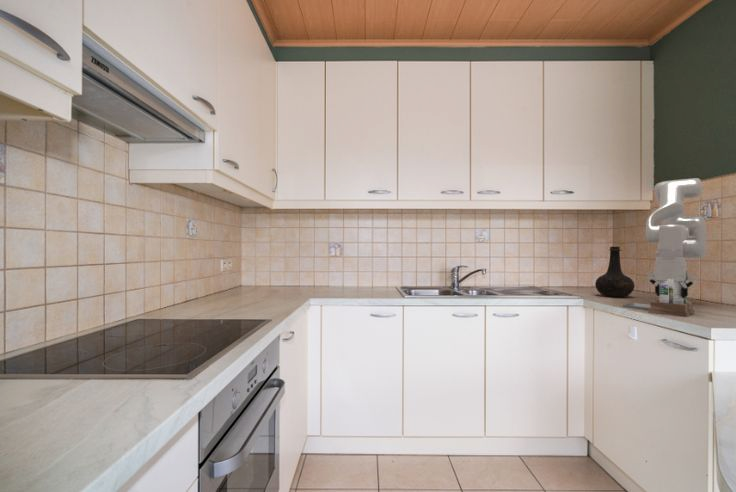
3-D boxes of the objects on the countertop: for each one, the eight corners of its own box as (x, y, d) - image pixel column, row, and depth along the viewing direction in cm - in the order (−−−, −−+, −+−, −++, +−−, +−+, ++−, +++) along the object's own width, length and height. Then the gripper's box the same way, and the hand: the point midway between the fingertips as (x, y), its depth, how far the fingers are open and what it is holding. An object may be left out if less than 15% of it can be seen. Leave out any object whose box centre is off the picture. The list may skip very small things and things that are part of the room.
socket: (657, 309, 155) (657, 299, 155) (694, 313, 145) (694, 302, 145) (648, 312, 148) (648, 301, 148) (686, 316, 138) (686, 305, 138)
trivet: (631, 304, 169) (631, 302, 169) (660, 307, 160) (660, 305, 160) (622, 306, 163) (622, 304, 163) (652, 310, 154) (652, 308, 154)
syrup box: (658, 311, 149) (658, 277, 149) (671, 311, 150) (670, 277, 150) (671, 314, 143) (670, 278, 144) (684, 314, 144) (684, 278, 144)
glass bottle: (590, 296, 199) (589, 246, 199) (602, 293, 210) (602, 246, 210) (627, 299, 184) (627, 246, 185) (639, 296, 195) (638, 246, 195)
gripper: (642, 254, 152) (642, 295, 151) (696, 254, 138) (696, 299, 137) (648, 253, 156) (648, 293, 156) (701, 254, 142) (701, 298, 142)
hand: (671, 296), depth 147 cm, fingers closed on syrup box, 7 cm apart
